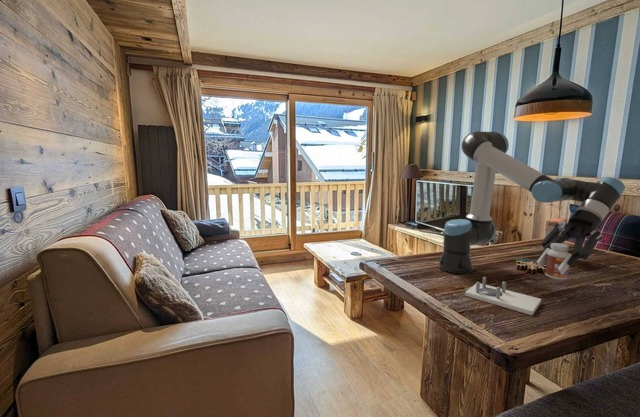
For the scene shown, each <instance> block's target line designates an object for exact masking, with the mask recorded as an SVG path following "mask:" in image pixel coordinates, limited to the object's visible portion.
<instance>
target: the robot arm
mask: <svg viewBox="0 0 640 417" xmlns="http://www.w3.org/2000/svg"><path fill="white" fill-rule="evenodd" d="M509 145H510V143H509V139H508V138H507V137H506V135H505V134H503V133H501V132H497V131H482V130H481V131H480V130H479V131H478V130H477V131H476V130H475V131H472V132H470V133H468V134H467V135H466V136H464V138H463V140H462V142H461V150H462V153H463V154H464V155H465V156H466V157H467V158H469V159H470V160H472V161H473V163H475V171H474V176H473V178H474V179H473V185H472V186H473V187H472V188H473V189H472V194H471V202H470V210H469V213H468V214H467V215H465V219H463V218H458V219H450V220H447V221H446V222H445V224H444V229H443V248H442V249H443V251H442V254H441V256H440V259H439V261H438V268H439V269H440V268H441V269H440V270H442V271H444V272H446V271H448V273H450V272H452V273H451V274H456V273H460V275H462V274H463V275H464V274H465V275H466V274H470V273H472V272H473V271H474V265H473V261H472V258H471V255H470V253H471V246H476V245H477V246H478V245H483V244H486V243H489V242H491V241H492V240H493V239H494V238H495V236H496V233H497V229H496V226H495V223H494V222H493V217H492V216H491V215H490V213H491V208H492V199H493V193H494V187H495V180H496V172H497V173H498V174H500V175H502V176H503V177H505V178H506V179H508V180H510V181H512V182H513V183H515V184H516V185H519V186H520V187H521V188H523V189H524V190H527V191H528V192H529V193H531V196H532V197H533V199H534V200H535V201H536V202H537V201H538V203H539V202H540V203H547V204H548V203H554V202H555V203H556V202H562V201H574V202H580V204H579V205H578V207H577V208H576V210H575V211H574V212H573V214H572V215H571V216H570V217H569V220H568V221H567V224H565V225H559V224H555V226H554V229H553V230H552V231H551V232H550V233H549V234H548V236H547V237H546V238H545V239H544V238H543V240H542V241H541V243H540V245H541V247H542V251H541V252H540V254H539V256H540V257H539V258H538V259H537V260H536V261H537V264H538V265H539V266H540V267H539V268H541V267H543V265H544V264H545V263H546V258H547V252H548V250H551V247H550V246H551V243H561V244H562V243H563V242H564V243H565V241H569V240H570V239H575V241H574V245H573V250H572V252H571V253H570V254H568V255H567V257H566V258H565V259H564V261H563V262H562V263H561V265H560V266H559V268H558V270H559V272H560V273H561V274H564V273H565V272H566V270H567V269H568V268H570V267H573V266H574V265H575V263H577V262H578V260H579V259H580V260H581V259H582V260H587V259H588V258H589V256H590V255H591V254H592V252H593V250H594V249H595V247H596V246H597V243H598V242H599V241H600V240H602V239H603V235H602V233H601V232H600V231H598V230H597V229H598V228H599V226H600V225H601V223H602V222H603V220H604V219H605V218H606V216H607V215H608V213H610V211H611V210H612V208H613V207H614V205H615V204H616V203H617V201H619V199H621V197H622V194H623V193H624V192H625V189H626V186H625V183H624V182H623V181H621V180H620V179H618V178H616V177H612V176H606V177H601V178H600V179H598V181H596V182H594V181H586V180H579V179H572V178H569V177H565V178H564V177H556V178H555V179H553V178H552V177H550V176H547V175H546V174H544V173H542V172H540V171H539V170H537V169H535V168H533V167H531V166H529V165H527V164H526V163H524V162H522V161H521V160H518V159H517V158H515V157H513V156H511V155H509V154H508V153H507V152H508V150H509V147H510V146H509ZM563 229H565V230H564V231H562V230H563ZM560 232H561V234H560ZM559 234H560V235H559ZM558 235H559V236H558ZM587 237H589V238H588V240H587V241H586V238H587ZM584 243H585V244H584ZM543 248H544V249H543Z"/></svg>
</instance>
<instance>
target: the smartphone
mask: <svg viewBox="0 0 640 417" xmlns="http://www.w3.org/2000/svg"><path fill="white" fill-rule="evenodd" d="M515 261H516V262H520V261H522V262H521V263H523V262H533V263H536V264H537V261H538V260H536V259H531V258H528V257H520V258H516V259H515ZM544 265H546V263H545V264H544Z"/></svg>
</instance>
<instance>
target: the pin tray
mask: <svg viewBox="0 0 640 417" xmlns="http://www.w3.org/2000/svg"><path fill="white" fill-rule="evenodd" d="M506 288H507V282H506V281H502V284H501V287H500V286H497V287H496V286H493V285H489V284H487V277H486V276H483V277H482V283H481V282H480V281H476V283H475V284H474V285H472V286H471V287H469V288H468V289H466V291H464V296H466V297H468V298H473V299H476V300H478V301H482V302H484V303H489V304H492V305H496V306H499V307H502V308H506V309H509V310H512V311H515V312H519V313H522V314H525V315H528V316H529V315H530V316H533V315H534V314H535V313H536V312H537V310H538V308H539V306H540V305H541V304H542V298H539V297H536V296H531V295H528V294H524V293H520V292H515V291H511V290H508V289H506Z"/></svg>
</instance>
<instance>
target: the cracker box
mask: <svg viewBox="0 0 640 417" xmlns="http://www.w3.org/2000/svg"><path fill="white" fill-rule="evenodd" d="M567 223H568V219H567V218H562V217H553V218H550V219H548V220H545V228H544V229H545V230H544V236H543V237H544V238H543V240H544V239H545V238H546V237H547V236H548V234H549V233H550V232H551V231H552V230H553V229H554V226H555V224H559V225H565V224H567ZM564 230H565V229H563V230H562V231H564ZM560 234H561V232H560ZM560 234H559V235H560ZM559 235H558V236H559ZM562 244H565V241H564V242H563V243H562ZM543 249H544V248H543V247H542V250H543Z"/></svg>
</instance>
